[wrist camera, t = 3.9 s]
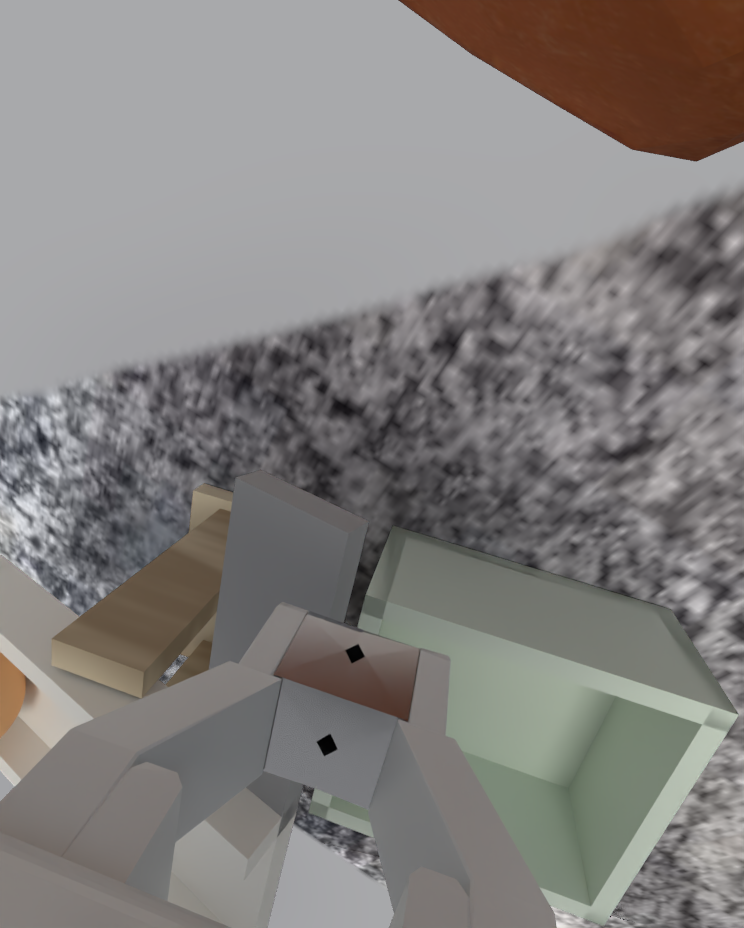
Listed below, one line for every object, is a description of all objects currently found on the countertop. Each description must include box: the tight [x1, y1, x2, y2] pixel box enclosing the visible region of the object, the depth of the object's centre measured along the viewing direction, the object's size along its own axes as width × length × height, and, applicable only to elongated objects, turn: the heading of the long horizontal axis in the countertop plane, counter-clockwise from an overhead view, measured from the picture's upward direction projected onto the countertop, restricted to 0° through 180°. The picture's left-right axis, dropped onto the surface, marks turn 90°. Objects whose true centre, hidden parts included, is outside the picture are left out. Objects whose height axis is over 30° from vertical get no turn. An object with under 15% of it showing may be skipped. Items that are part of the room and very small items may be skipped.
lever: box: [0, 470, 369, 928], centre depth 15 cm, size 15×15×2 cm
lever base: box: [52, 484, 233, 699], centre depth 21 cm, size 10×6×11 cm, turn 167°
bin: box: [308, 526, 739, 926], centre depth 21 cm, size 12×13×6 cm
